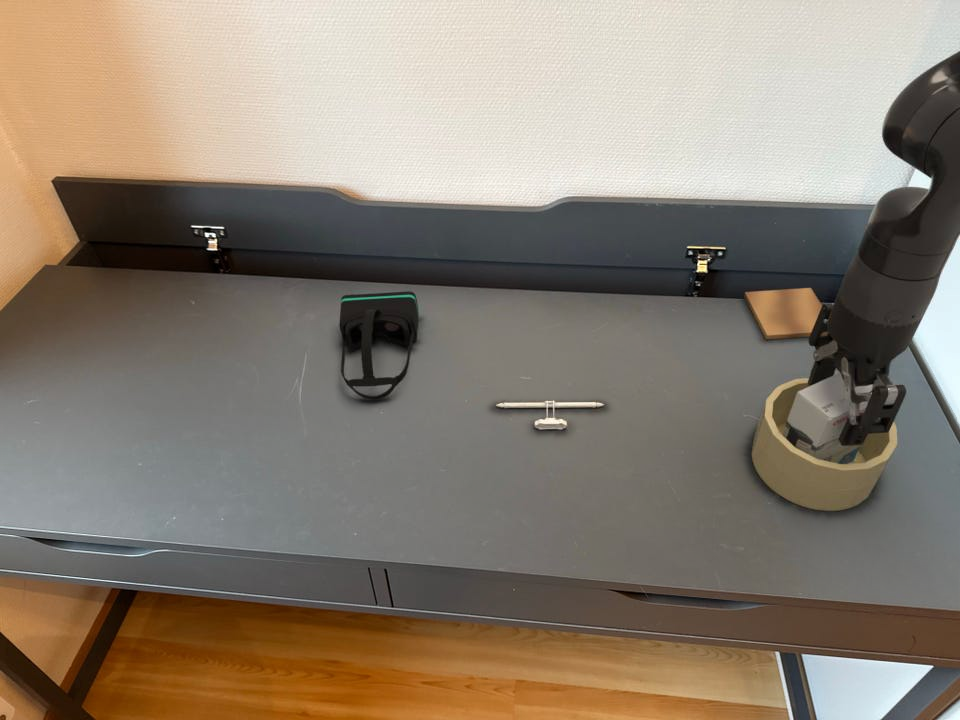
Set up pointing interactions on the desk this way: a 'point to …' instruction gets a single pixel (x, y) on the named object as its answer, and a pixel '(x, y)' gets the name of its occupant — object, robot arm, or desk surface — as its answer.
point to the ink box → (822, 420)
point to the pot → (814, 460)
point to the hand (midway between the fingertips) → (832, 413)
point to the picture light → (548, 422)
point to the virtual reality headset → (377, 331)
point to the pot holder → (785, 312)
